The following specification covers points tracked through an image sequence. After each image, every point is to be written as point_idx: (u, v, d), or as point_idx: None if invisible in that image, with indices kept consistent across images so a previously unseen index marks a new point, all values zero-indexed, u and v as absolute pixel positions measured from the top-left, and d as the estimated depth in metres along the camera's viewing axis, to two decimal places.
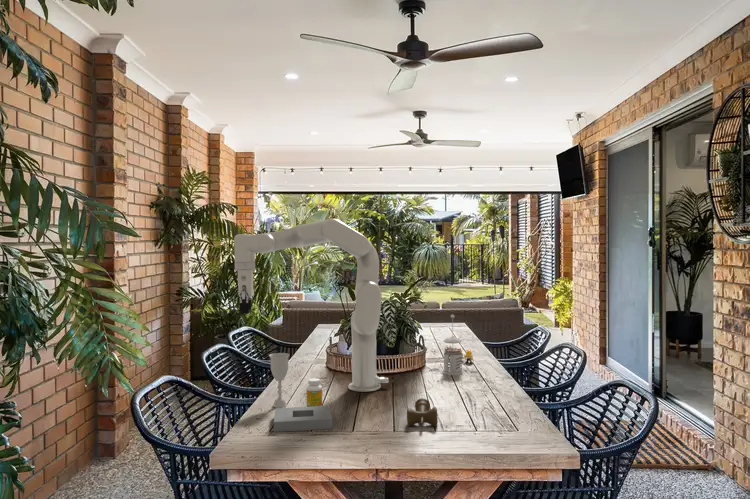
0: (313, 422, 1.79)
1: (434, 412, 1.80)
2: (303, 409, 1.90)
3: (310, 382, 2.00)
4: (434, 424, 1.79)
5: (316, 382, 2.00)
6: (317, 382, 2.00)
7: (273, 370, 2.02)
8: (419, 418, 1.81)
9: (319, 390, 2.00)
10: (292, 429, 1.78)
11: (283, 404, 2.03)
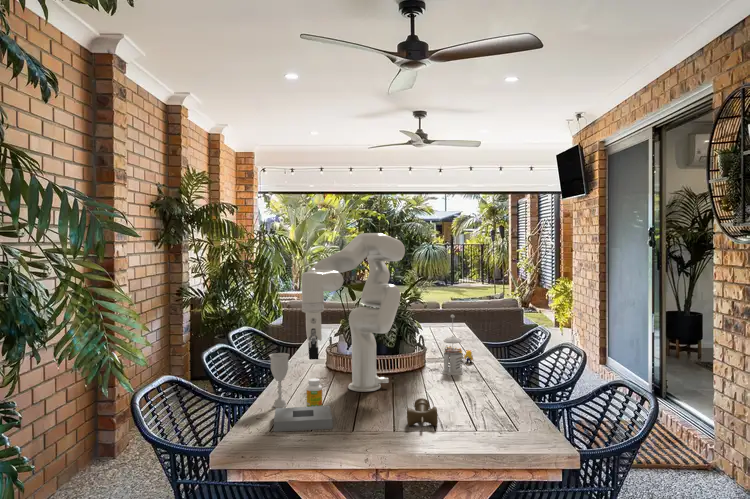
0: (313, 422, 1.79)
1: (434, 412, 1.80)
2: (303, 409, 1.90)
3: (310, 382, 2.00)
4: (434, 424, 1.80)
5: (316, 382, 2.00)
6: (317, 382, 2.00)
7: (273, 370, 2.02)
8: (419, 418, 1.81)
9: (319, 390, 2.00)
10: (292, 429, 1.78)
11: (283, 404, 2.03)
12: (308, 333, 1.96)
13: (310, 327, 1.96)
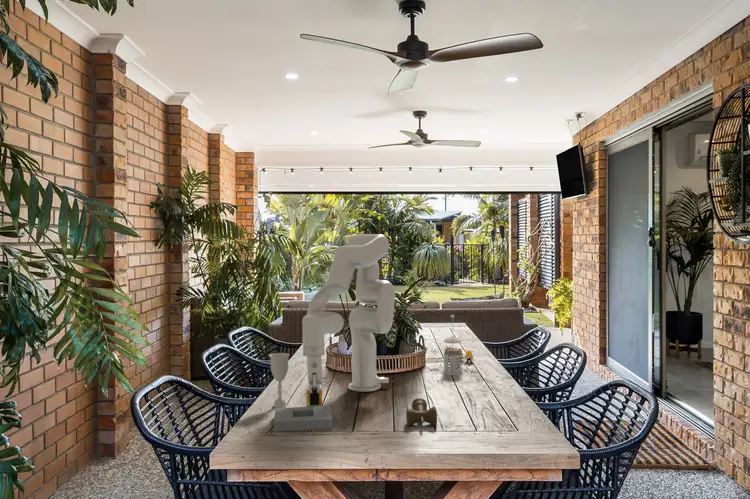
0: (313, 422, 1.79)
1: (434, 411, 1.80)
2: (303, 409, 1.90)
3: None
4: (434, 423, 1.80)
5: (316, 382, 2.00)
6: None
7: (273, 370, 2.02)
8: (419, 418, 1.81)
9: (319, 390, 2.00)
10: (292, 429, 1.78)
11: (283, 404, 2.03)
12: (309, 377, 1.97)
13: (311, 371, 1.97)
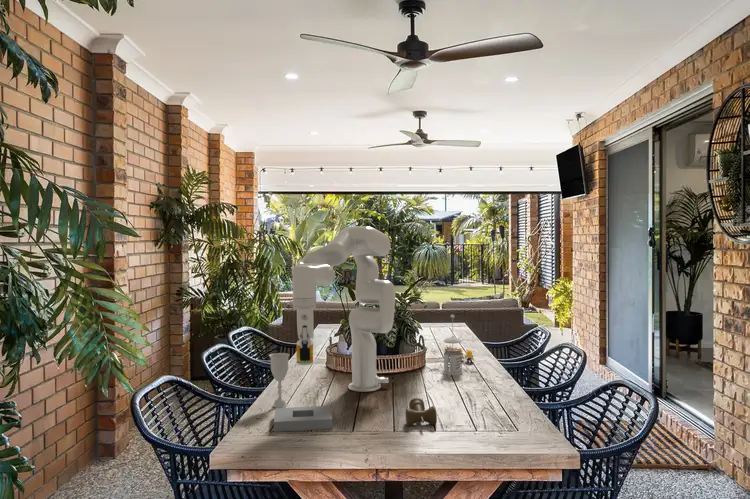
0: (313, 422, 1.79)
1: (433, 411, 1.81)
2: (303, 409, 1.90)
3: None
4: (433, 423, 1.81)
5: None
6: None
7: (273, 370, 2.02)
8: (418, 417, 1.81)
9: (310, 345, 1.87)
10: (292, 429, 1.78)
11: (283, 404, 2.03)
12: (299, 330, 1.84)
13: (301, 324, 1.84)
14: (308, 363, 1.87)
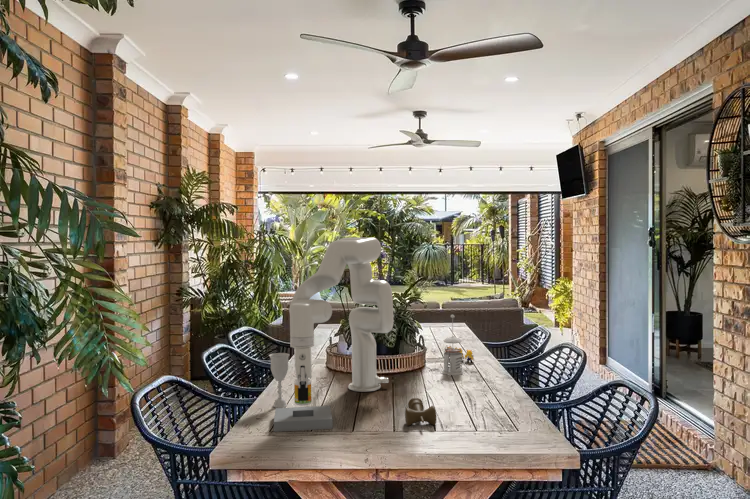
0: (313, 422, 1.79)
1: (433, 410, 1.81)
2: (303, 409, 1.90)
3: None
4: (433, 422, 1.81)
5: (305, 376, 1.84)
6: None
7: (273, 370, 2.02)
8: (418, 417, 1.81)
9: (308, 384, 1.84)
10: (292, 429, 1.78)
11: (283, 404, 2.03)
12: (297, 371, 1.80)
13: (299, 364, 1.80)
14: (306, 403, 1.83)
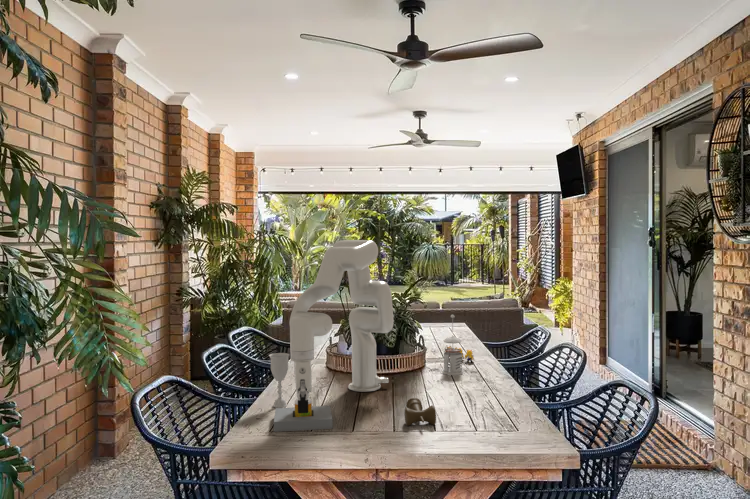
0: (313, 422, 1.79)
1: (433, 410, 1.81)
2: None
3: (298, 395, 1.84)
4: (433, 422, 1.81)
5: None
6: None
7: (273, 370, 2.02)
8: (418, 417, 1.82)
9: (308, 404, 1.84)
10: (292, 429, 1.78)
11: (283, 404, 2.03)
12: (297, 384, 1.80)
13: (299, 378, 1.80)
14: None
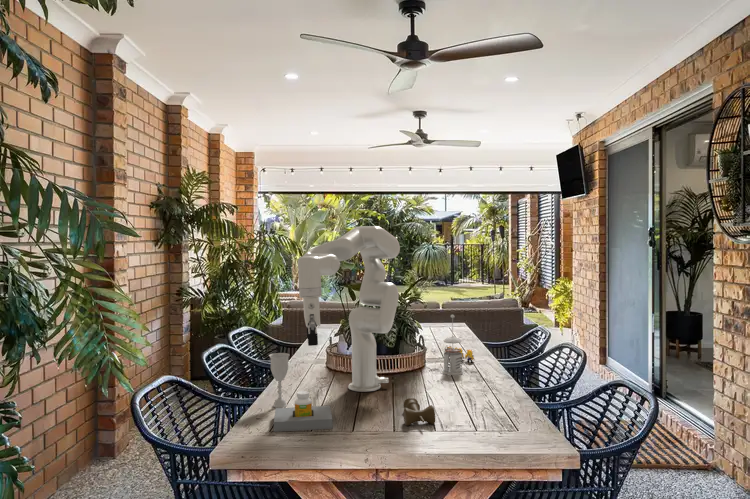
0: (313, 422, 1.79)
1: (432, 410, 1.82)
2: None
3: (298, 395, 1.84)
4: (432, 422, 1.82)
5: (305, 395, 1.84)
6: (306, 396, 1.84)
7: (273, 370, 2.02)
8: (417, 417, 1.82)
9: (308, 404, 1.84)
10: (292, 429, 1.78)
11: (283, 404, 2.03)
12: (306, 319, 1.92)
13: (308, 313, 1.92)
14: None
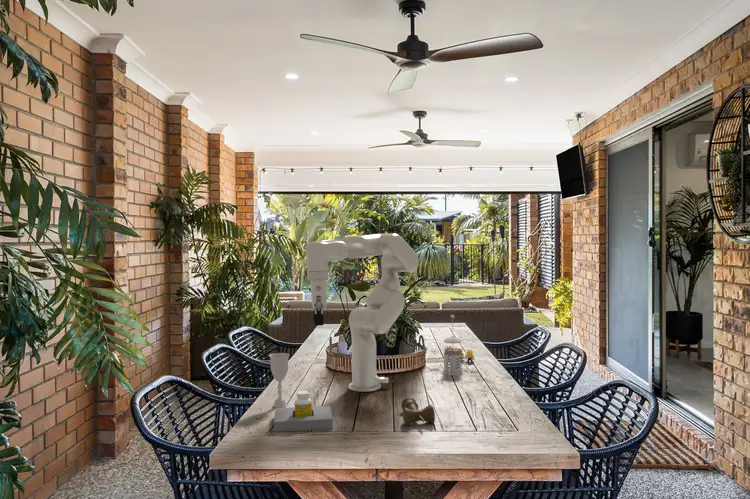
0: (313, 422, 1.79)
1: (432, 409, 1.82)
2: None
3: (298, 395, 1.84)
4: (432, 421, 1.82)
5: (305, 395, 1.84)
6: (306, 396, 1.84)
7: (273, 370, 2.02)
8: (417, 417, 1.82)
9: (308, 404, 1.84)
10: (292, 429, 1.78)
11: (283, 404, 2.03)
12: (313, 300, 2.03)
13: (315, 294, 2.03)
14: None
